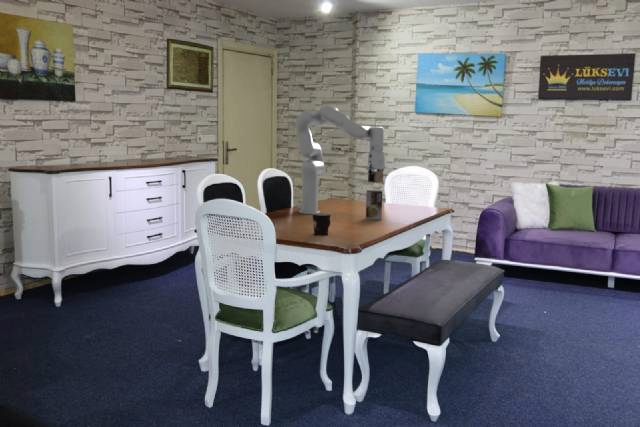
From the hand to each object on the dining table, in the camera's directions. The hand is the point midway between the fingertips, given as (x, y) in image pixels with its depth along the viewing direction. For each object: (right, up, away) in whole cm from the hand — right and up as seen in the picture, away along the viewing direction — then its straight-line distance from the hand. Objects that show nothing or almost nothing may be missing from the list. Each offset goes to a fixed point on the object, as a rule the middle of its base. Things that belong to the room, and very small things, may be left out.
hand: (375, 180), depth 337 cm
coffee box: (-1, -22, +3) cm, 22 cm away
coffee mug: (-31, -29, -52) cm, 67 cm away
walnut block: (0, -1, 0) cm, 1 cm away
